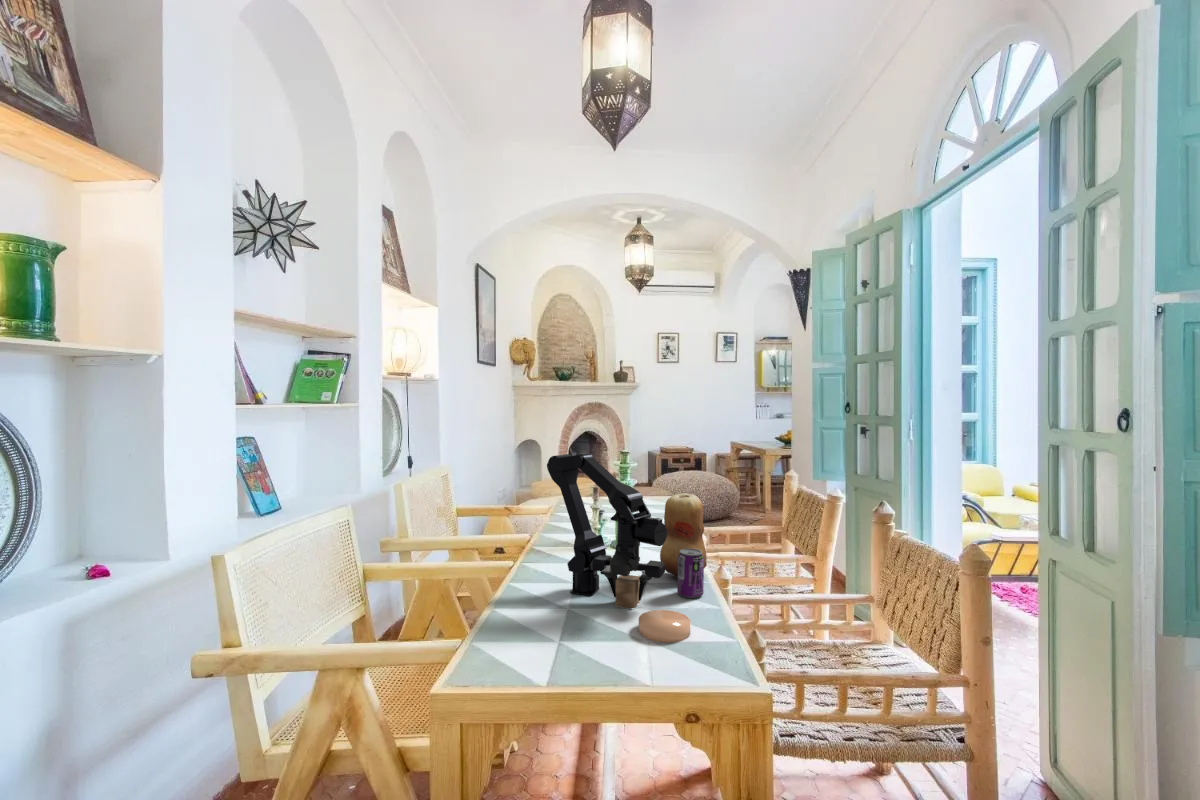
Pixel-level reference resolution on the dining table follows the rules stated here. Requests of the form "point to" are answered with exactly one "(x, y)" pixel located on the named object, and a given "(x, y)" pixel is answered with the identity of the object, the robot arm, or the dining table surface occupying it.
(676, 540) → the butternut squash
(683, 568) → the beverage can
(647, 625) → the terracotta disc
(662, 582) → the dining table surface
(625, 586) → the walnut block
